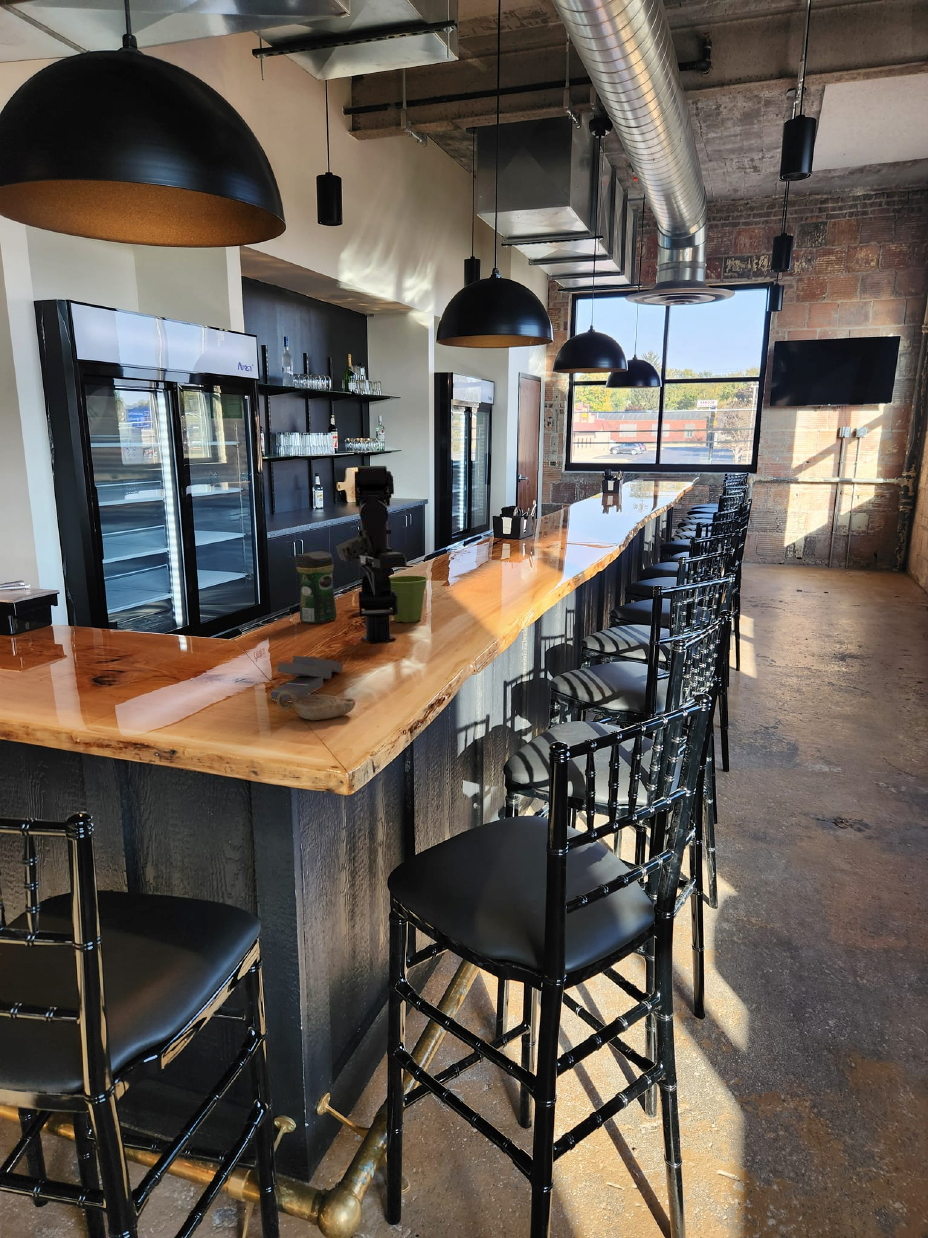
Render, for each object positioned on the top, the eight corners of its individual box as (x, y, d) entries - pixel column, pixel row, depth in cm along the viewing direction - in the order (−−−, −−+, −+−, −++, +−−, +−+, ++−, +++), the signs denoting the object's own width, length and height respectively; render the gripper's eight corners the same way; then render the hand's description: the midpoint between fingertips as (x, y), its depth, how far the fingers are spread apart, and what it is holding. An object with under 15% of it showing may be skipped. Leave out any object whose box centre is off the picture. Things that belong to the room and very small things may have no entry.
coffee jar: (320, 616, 216) (317, 549, 213) (341, 619, 212) (338, 550, 208) (294, 622, 209) (290, 553, 205) (315, 626, 204) (311, 554, 200)
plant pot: (410, 613, 218) (409, 573, 215) (438, 620, 209) (437, 578, 207) (375, 620, 210) (374, 578, 208) (403, 627, 201) (402, 583, 199)
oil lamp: (358, 710, 138) (357, 682, 137) (352, 724, 130) (351, 695, 129) (283, 711, 138) (281, 683, 137) (273, 725, 130) (271, 696, 129)
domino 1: (310, 668, 158) (278, 662, 148) (331, 669, 156) (301, 663, 146) (309, 677, 157) (277, 672, 147) (330, 679, 156) (300, 673, 145)
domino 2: (299, 675, 153) (270, 691, 143) (322, 677, 152) (295, 693, 141) (299, 684, 153) (271, 701, 143) (323, 686, 152) (295, 703, 142)
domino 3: (321, 662, 162) (293, 655, 152) (343, 663, 161) (316, 657, 150) (320, 671, 162) (292, 665, 152) (342, 672, 160) (314, 666, 150)
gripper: (323, 523, 174) (326, 593, 177) (357, 530, 158) (360, 606, 162) (369, 520, 180) (371, 588, 183) (406, 526, 164) (408, 600, 167)
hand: (376, 595), depth 174 cm, fingers closed
